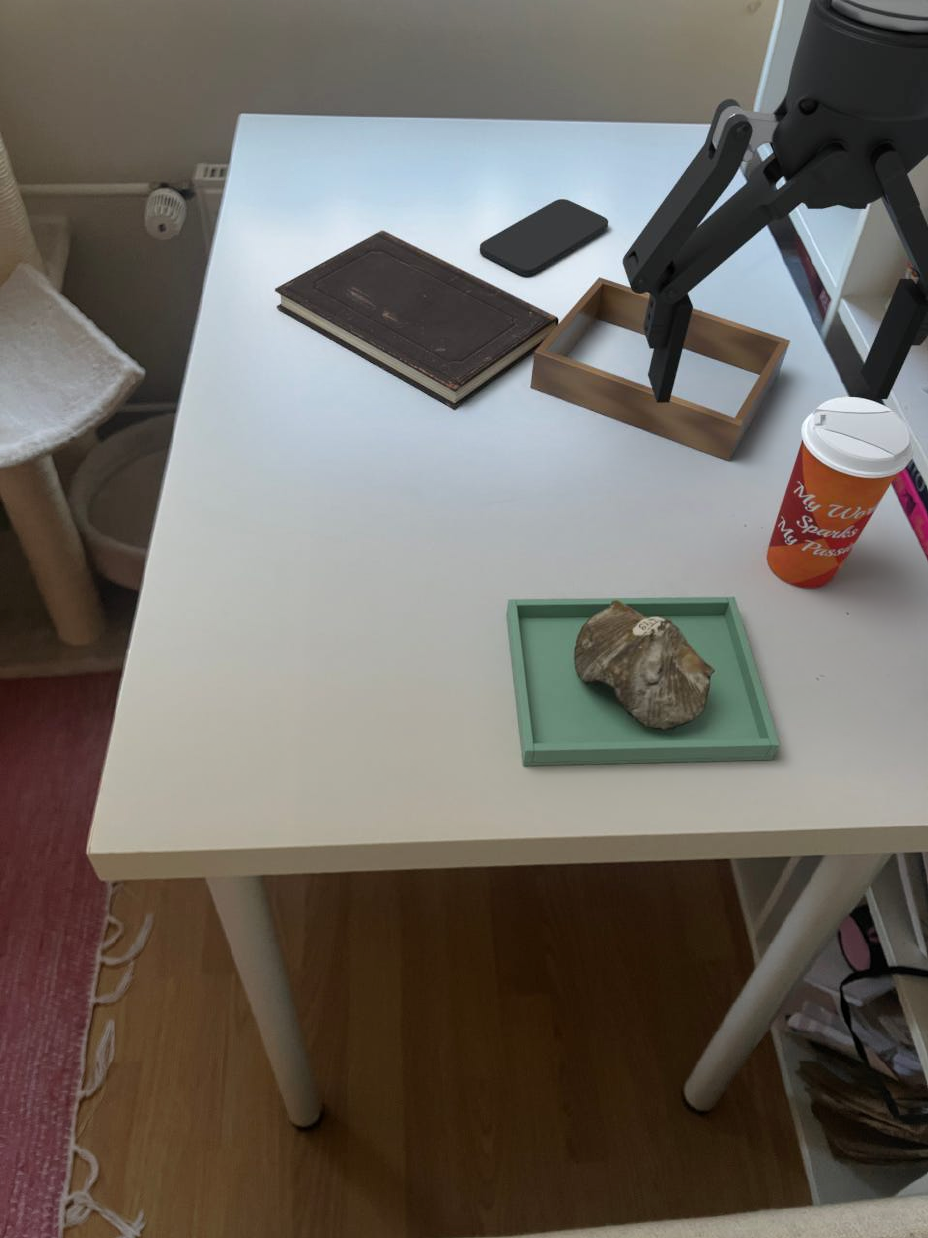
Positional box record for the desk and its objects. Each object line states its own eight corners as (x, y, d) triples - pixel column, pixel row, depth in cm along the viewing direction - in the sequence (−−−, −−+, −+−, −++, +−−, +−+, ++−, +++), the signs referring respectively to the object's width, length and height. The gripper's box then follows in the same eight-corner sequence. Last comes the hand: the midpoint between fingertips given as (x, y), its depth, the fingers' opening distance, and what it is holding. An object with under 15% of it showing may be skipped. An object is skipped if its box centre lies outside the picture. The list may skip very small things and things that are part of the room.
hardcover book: (453, 409, 91) (455, 388, 89) (276, 308, 100) (274, 288, 98) (557, 334, 99) (560, 314, 98) (385, 247, 108) (385, 227, 106)
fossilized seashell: (741, 690, 69) (651, 607, 75) (712, 648, 64) (619, 564, 70) (660, 764, 69) (578, 676, 76) (625, 728, 64) (541, 637, 71)
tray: (728, 612, 77) (734, 596, 76) (772, 760, 69) (780, 745, 67) (506, 615, 76) (508, 599, 74) (522, 766, 67) (525, 750, 66)
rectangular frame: (778, 375, 97) (790, 340, 94) (728, 461, 88) (740, 425, 85) (593, 312, 102) (599, 276, 99) (529, 387, 94) (534, 351, 91)
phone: (474, 245, 108) (561, 196, 115) (474, 252, 108) (560, 203, 116) (528, 272, 105) (613, 220, 112) (527, 279, 105) (612, 227, 113)
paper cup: (750, 587, 79) (805, 450, 68) (755, 520, 84) (808, 383, 73) (851, 608, 78) (923, 473, 67) (850, 540, 83) (918, 403, 72)
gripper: (642, 28, 42) (575, 430, 58) (1202, 38, 44) (986, 422, 60) (610, -36, 46) (557, 352, 63) (1116, -24, 49) (938, 348, 65)
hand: (766, 387), depth 61 cm, fingers open, 13 cm apart
